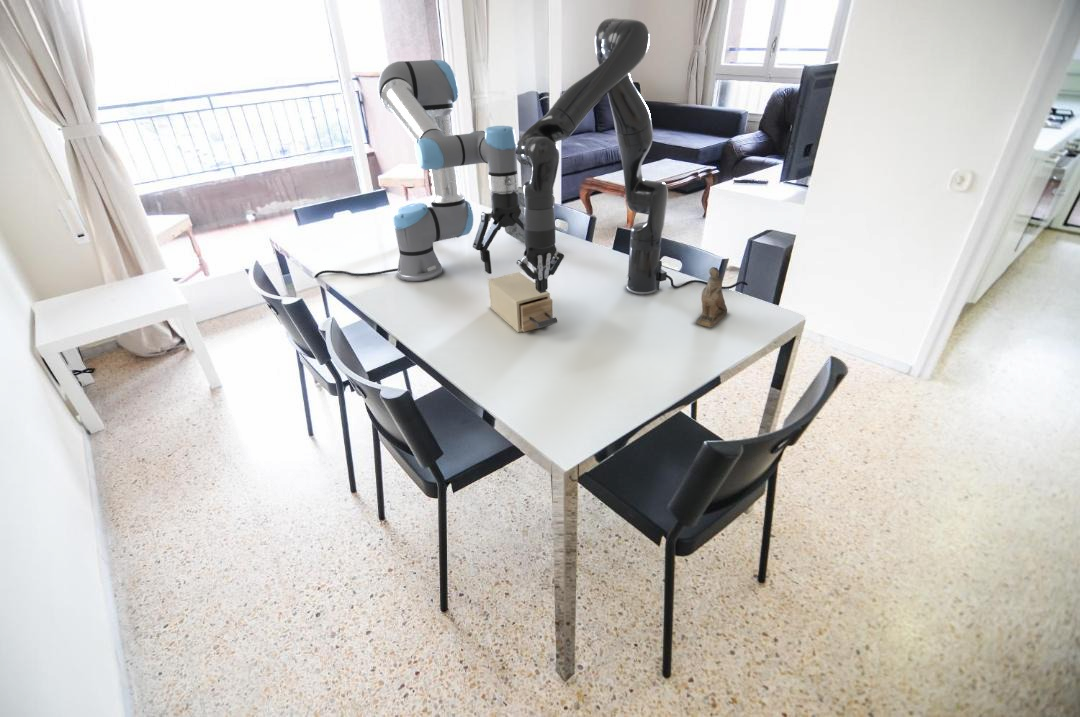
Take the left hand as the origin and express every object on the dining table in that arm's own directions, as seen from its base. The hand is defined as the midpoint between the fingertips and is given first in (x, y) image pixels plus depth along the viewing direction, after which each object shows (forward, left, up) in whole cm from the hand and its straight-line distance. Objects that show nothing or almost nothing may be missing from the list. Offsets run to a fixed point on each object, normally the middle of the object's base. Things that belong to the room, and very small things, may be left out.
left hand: (510, 267), depth 142 cm
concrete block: (-18, +58, -13) cm, 62 cm away
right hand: (+14, -12, -1) cm, 19 cm away
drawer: (+8, -6, -12) cm, 16 cm away
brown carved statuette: (+56, +11, -13) cm, 59 cm away
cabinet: (+3, -3, -13) cm, 14 cm away
